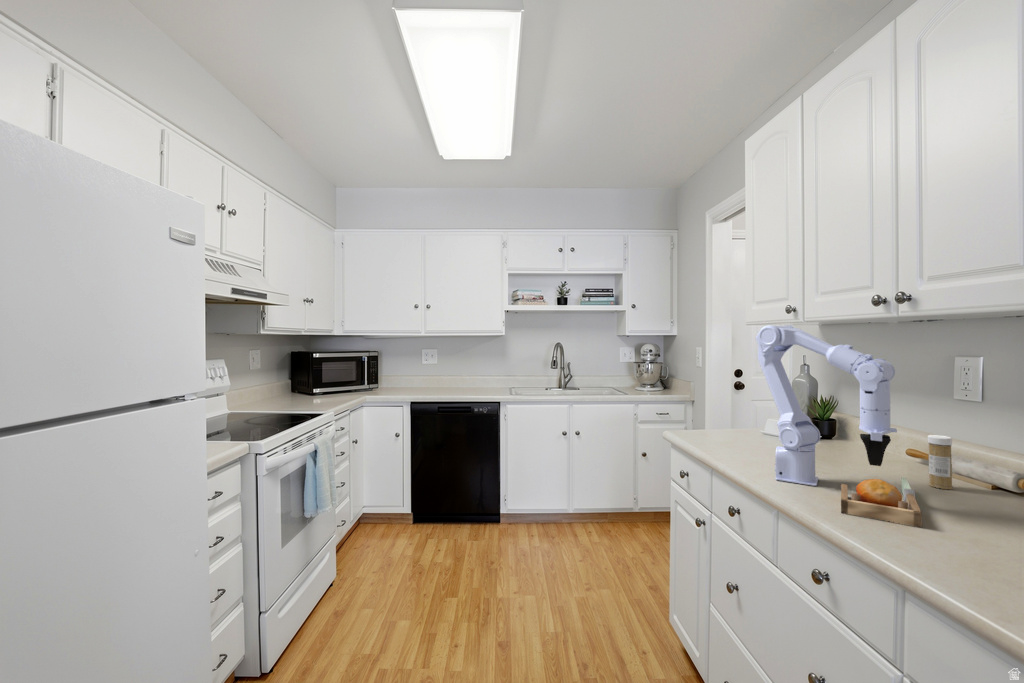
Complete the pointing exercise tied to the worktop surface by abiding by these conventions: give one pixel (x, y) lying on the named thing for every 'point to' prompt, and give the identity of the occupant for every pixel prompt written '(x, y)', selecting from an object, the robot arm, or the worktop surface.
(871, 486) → the fruit
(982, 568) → the worktop surface
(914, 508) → the cradle
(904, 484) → the gate
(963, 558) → the worktop surface
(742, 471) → the worktop surface
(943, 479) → the sprinkles bottle
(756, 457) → the worktop surface
